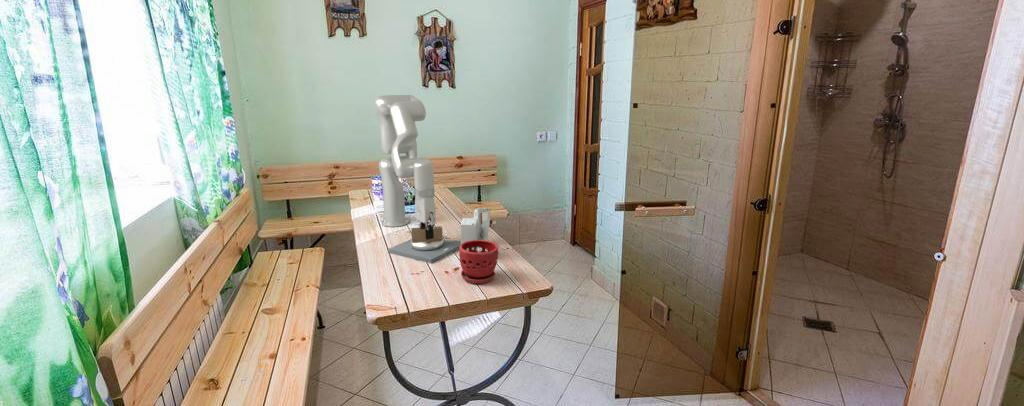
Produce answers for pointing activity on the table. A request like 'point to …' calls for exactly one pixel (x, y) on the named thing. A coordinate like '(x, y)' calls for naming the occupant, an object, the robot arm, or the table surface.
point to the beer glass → (482, 222)
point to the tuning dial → (430, 244)
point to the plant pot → (478, 261)
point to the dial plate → (425, 256)
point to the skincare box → (469, 230)
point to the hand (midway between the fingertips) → (426, 236)
